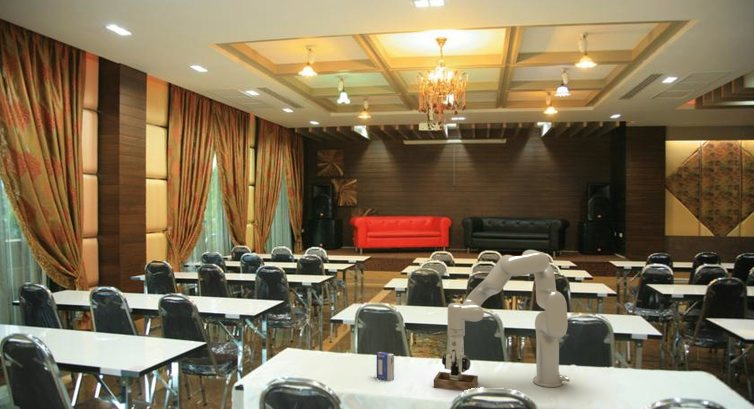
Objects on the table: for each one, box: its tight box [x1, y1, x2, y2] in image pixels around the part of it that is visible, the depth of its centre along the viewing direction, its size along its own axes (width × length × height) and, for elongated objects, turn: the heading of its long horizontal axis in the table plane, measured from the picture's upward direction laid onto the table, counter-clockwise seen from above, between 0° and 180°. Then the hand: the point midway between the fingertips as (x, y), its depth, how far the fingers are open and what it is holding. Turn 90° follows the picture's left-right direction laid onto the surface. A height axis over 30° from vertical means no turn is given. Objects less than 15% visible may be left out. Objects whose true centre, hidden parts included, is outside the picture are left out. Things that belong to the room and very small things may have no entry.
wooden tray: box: [433, 371, 479, 392], centre depth 234 cm, size 17×11×4 cm, turn 71°
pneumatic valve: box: [441, 352, 471, 381], centre depth 234 cm, size 6×12×12 cm, turn 56°
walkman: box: [376, 351, 395, 382], centre depth 242 cm, size 8×3×12 cm, turn 57°
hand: (455, 372), depth 234 cm, fingers closed on pneumatic valve, 5 cm apart
